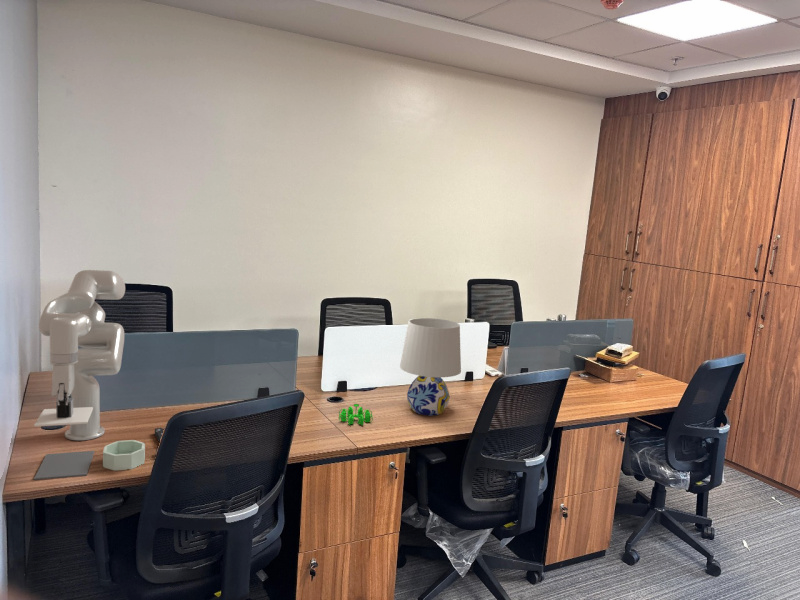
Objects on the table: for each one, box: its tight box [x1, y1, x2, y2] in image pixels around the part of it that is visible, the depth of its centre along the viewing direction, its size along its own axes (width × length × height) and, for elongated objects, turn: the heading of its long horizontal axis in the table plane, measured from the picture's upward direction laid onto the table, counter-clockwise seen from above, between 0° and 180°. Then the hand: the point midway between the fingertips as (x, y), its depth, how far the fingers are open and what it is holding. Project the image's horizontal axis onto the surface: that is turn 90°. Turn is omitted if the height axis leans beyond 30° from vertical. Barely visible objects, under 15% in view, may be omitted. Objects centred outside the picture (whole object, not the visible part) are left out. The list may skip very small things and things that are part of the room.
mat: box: [33, 450, 95, 481], centre depth 187 cm, size 18×14×1 cm
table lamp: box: [399, 317, 462, 417], centre depth 261 cm, size 27×27×40 cm
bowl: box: [102, 439, 146, 472], centre depth 192 cm, size 12×12×5 cm
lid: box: [33, 398, 93, 427], centre depth 184 cm, size 14×14×6 cm
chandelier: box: [338, 403, 374, 426], centre depth 245 cm, size 15×15×7 cm
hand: (65, 413), depth 184 cm, fingers closed on lid, 4 cm apart
